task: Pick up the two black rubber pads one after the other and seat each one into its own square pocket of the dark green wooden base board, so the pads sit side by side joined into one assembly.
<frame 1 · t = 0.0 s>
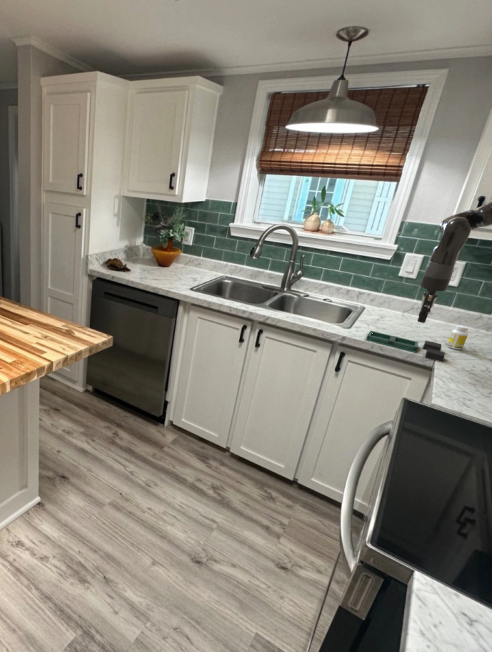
hand: (421, 319, 147), 20 cm above the table, tool pointing down, fingers open, 8 cm apart
near pad: (433, 358, 165), on the table
base board: (390, 343, 178), on the table
supplement bottle: (454, 348, 178), on the table
far pad: (430, 350, 173), on the table
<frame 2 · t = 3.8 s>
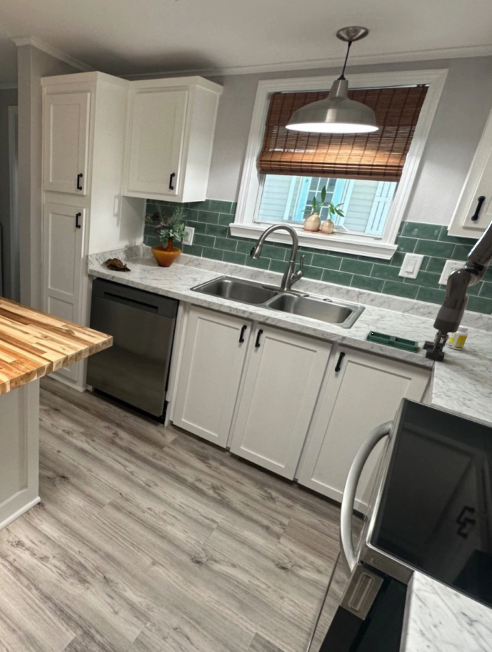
hand: (433, 357, 164), 1 cm above the table, tool pointing down, fingers closed on near pad, 5 cm apart
near pad: (433, 358, 165), on the table, touching gripper
everything else where it was.
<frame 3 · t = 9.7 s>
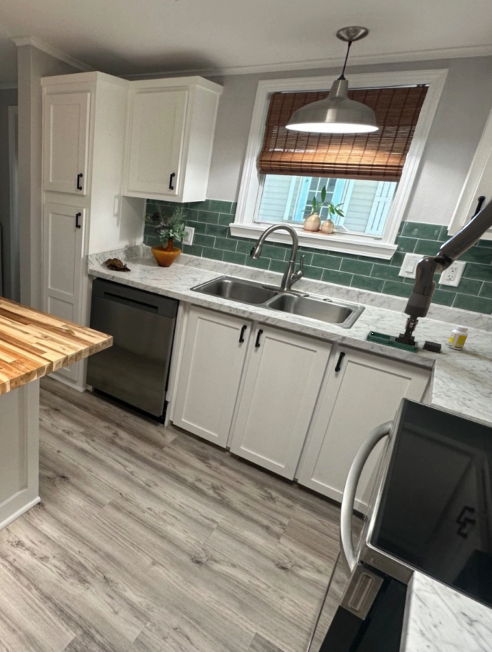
hand: (405, 341, 174), 2 cm above the table, tool pointing down, fingers closed on near pad, 5 cm apart
near pad: (404, 342, 174), point 2 cm above the table, touching gripper
everything else where it was.
when the fingers open (3 cm above the table, at t = 16.8 s): near pad drops 2 cm, resting on base board.
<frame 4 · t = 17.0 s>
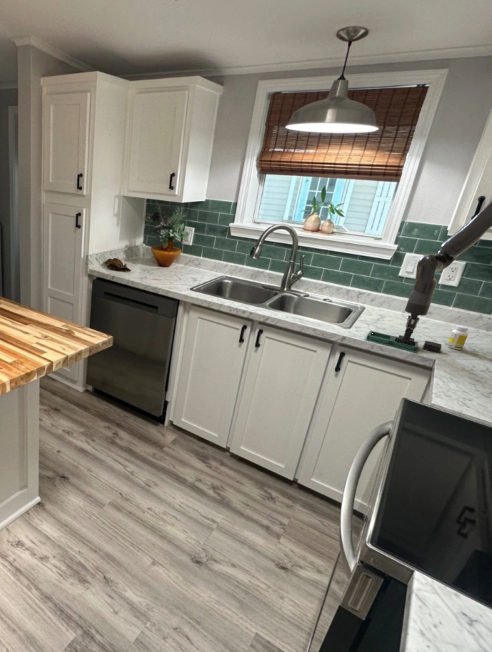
hand: (406, 339, 174), 4 cm above the table, tool pointing down, fingers open, 7 cm apart
near pad: (404, 344, 175), point 1 cm above the table, touching base board
everything else where it was.
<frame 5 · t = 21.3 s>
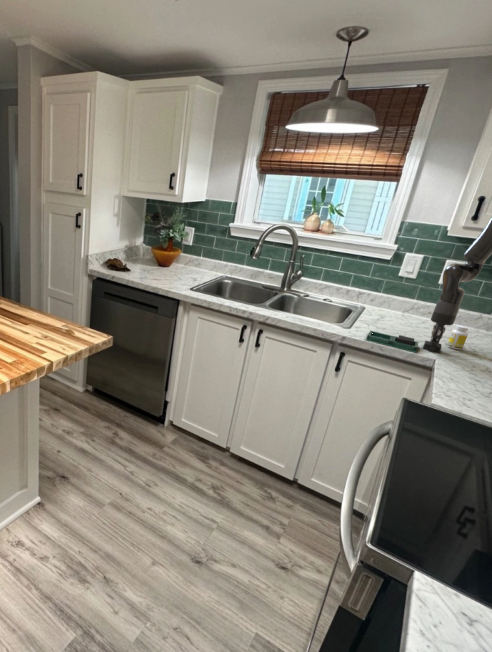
hand: (431, 349, 173), 1 cm above the table, tool pointing down, fingers closed on far pad, 5 cm apart
far pad: (430, 350, 173), on the table, touching gripper
everything else where it was.
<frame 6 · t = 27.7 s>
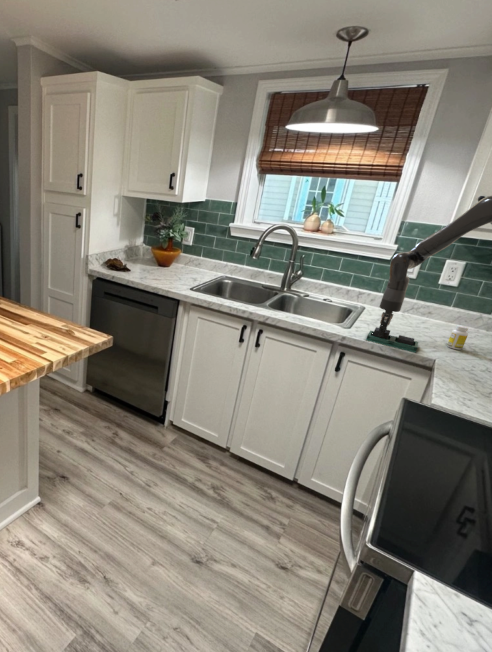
hand: (380, 335, 179), 3 cm above the table, tool pointing down, fingers closed on far pad, 5 cm apart
far pad: (380, 336, 179), point 2 cm above the table, touching gripper
everything else where it was.
when the fingers open (3 cm above the table, at t = 34.6 s): far pad drops 2 cm, resting on base board.
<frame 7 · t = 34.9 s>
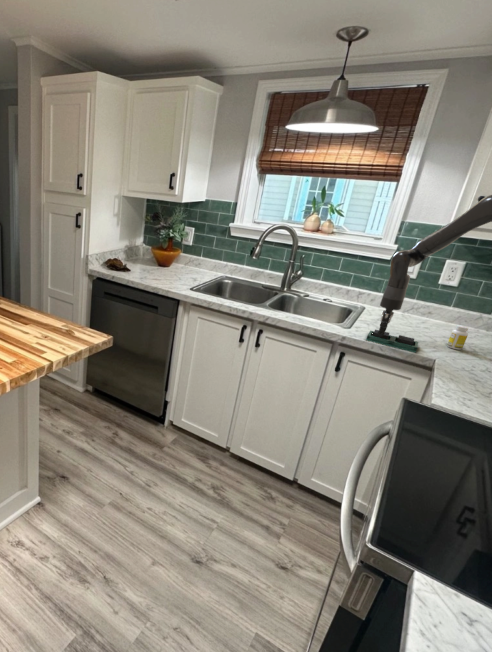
hand: (381, 332, 179), 4 cm above the table, tool pointing down, fingers open, 7 cm apart
far pad: (379, 338, 180), point 1 cm above the table, touching base board
everything else where it was.
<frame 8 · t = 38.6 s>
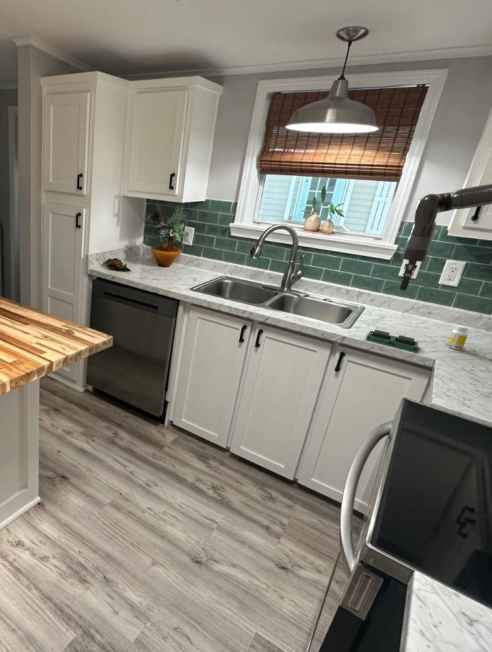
hand: (403, 288, 164), 26 cm above the table, tool pointing down, fingers open, 8 cm apart
nothing on the table moved.
at the end: near pad 0.1 cm from the target spot on the base board, point 1.0 cm above the base board's base; far pad 0.1 cm from the target spot on the base board, point 1.0 cm above the base board's base; far pad tilted 0° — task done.
